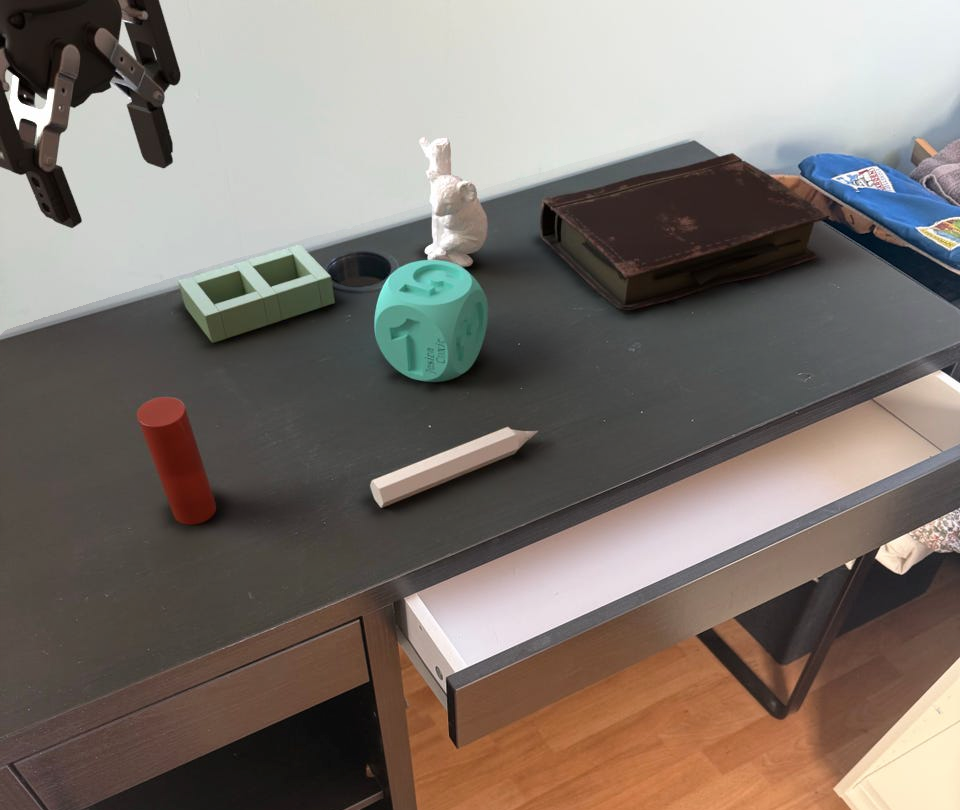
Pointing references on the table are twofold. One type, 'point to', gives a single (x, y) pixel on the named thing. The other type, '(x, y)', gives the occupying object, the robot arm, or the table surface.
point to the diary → (680, 230)
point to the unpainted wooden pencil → (447, 465)
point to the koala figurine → (452, 209)
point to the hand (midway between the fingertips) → (114, 192)
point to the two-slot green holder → (256, 292)
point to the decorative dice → (431, 320)
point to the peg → (177, 459)
